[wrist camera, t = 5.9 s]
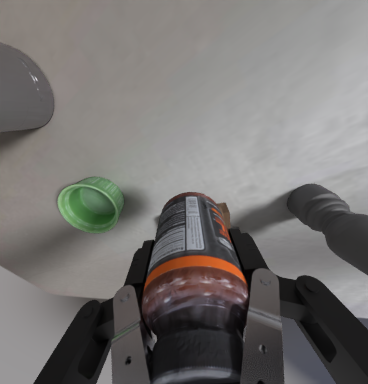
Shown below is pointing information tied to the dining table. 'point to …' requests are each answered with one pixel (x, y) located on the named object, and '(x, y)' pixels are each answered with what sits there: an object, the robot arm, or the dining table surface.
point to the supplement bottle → (195, 296)
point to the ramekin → (91, 204)
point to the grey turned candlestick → (333, 222)
